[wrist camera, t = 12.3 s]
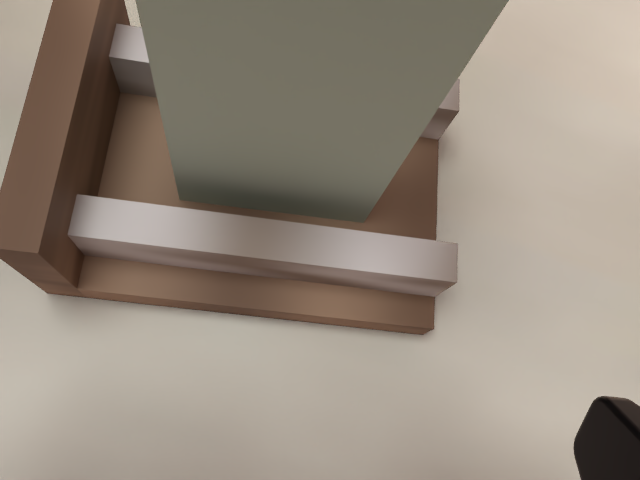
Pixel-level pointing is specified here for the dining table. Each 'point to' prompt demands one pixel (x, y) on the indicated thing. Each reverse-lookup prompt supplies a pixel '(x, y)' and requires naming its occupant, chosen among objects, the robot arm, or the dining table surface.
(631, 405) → the robot arm
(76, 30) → the cabinet base
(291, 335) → the dining table surface
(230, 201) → the pale green rectangular box
